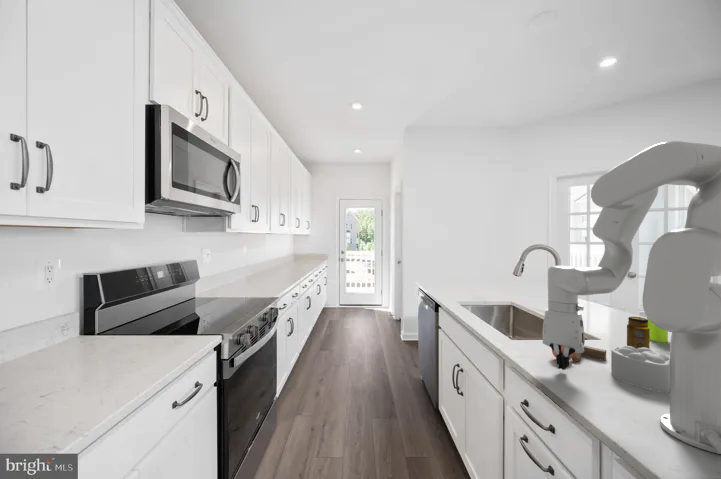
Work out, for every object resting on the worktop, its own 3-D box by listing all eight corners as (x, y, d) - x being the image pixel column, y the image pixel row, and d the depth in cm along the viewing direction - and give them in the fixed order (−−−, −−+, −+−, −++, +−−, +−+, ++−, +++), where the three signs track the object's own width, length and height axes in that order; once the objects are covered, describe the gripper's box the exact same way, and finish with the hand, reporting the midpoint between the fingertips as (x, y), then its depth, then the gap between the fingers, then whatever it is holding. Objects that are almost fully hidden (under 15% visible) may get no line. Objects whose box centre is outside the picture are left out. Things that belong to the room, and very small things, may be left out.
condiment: (654, 352, 110) (654, 318, 110) (646, 358, 105) (646, 322, 105) (627, 346, 116) (627, 314, 116) (619, 351, 111) (619, 317, 111)
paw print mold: (666, 395, 81) (666, 361, 80) (605, 376, 91) (605, 347, 91) (676, 384, 86) (676, 353, 86) (618, 368, 97) (618, 340, 97)
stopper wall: (604, 360, 103) (604, 351, 103) (563, 350, 112) (563, 342, 112) (606, 359, 104) (606, 350, 104) (564, 349, 113) (564, 341, 113)
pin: (580, 357, 101) (584, 341, 107) (571, 353, 103) (576, 338, 108) (578, 362, 102) (583, 346, 108) (570, 358, 104) (575, 343, 109)
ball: (574, 346, 104) (580, 357, 99) (560, 356, 107) (565, 368, 101) (559, 335, 105) (564, 345, 99) (545, 345, 107) (549, 356, 102)
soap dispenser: (642, 339, 124) (642, 289, 124) (651, 336, 127) (651, 287, 127) (661, 343, 119) (661, 291, 118) (670, 341, 121) (670, 289, 121)
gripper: (596, 309, 91) (596, 372, 91) (540, 301, 102) (540, 357, 102) (589, 313, 86) (589, 380, 86) (531, 304, 97) (531, 363, 97)
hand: (562, 367), depth 94 cm, fingers closed
